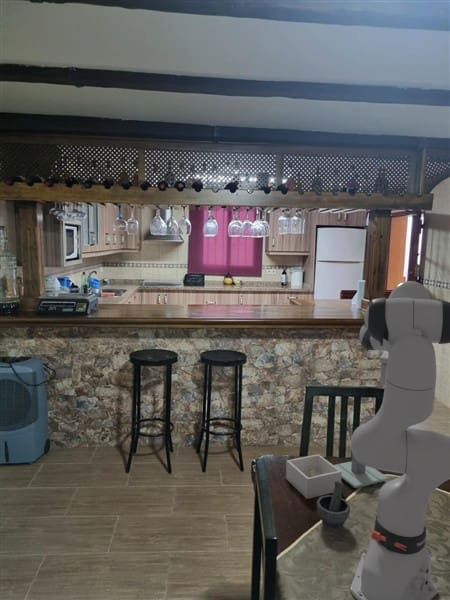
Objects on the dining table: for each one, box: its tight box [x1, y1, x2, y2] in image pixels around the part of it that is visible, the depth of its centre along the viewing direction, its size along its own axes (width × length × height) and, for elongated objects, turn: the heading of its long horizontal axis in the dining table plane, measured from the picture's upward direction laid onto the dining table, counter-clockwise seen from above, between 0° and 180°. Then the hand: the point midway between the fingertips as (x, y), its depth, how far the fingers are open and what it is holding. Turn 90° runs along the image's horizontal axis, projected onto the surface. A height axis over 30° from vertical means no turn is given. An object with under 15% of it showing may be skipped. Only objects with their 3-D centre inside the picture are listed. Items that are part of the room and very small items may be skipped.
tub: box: [285, 453, 343, 500], centre depth 151 cm, size 14×14×7 cm
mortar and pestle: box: [316, 481, 351, 533], centre depth 128 cm, size 11×9×12 cm
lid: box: [333, 452, 390, 489], centre depth 156 cm, size 15×15×12 cm
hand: (395, 393), depth 151 cm, fingers open, 8 cm apart
